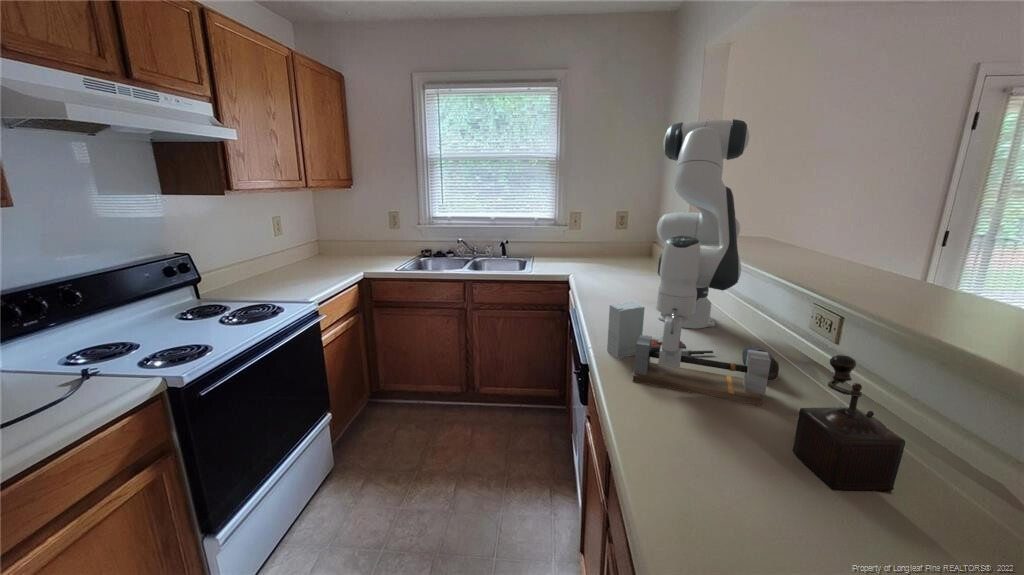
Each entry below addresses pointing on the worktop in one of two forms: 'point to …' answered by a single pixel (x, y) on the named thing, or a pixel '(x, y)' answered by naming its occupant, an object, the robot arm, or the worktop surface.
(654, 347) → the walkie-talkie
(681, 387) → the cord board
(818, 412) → the manual coffee grinder
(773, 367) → the perforated stone tool
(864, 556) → the worktop surface
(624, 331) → the skincare box
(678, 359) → the sleeve
